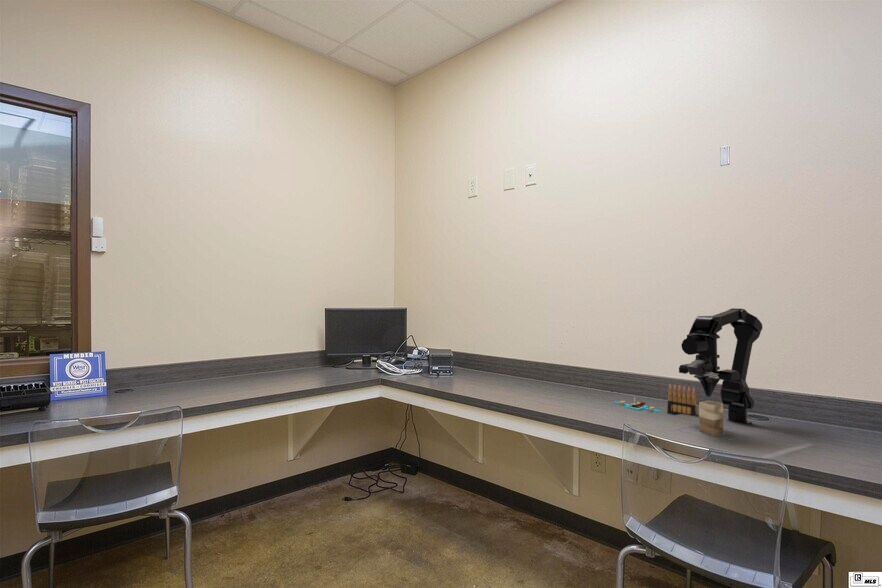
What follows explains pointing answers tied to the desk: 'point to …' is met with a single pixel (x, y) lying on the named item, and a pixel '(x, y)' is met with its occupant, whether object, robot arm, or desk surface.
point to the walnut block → (711, 426)
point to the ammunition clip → (681, 401)
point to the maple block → (711, 410)
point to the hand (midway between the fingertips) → (708, 396)
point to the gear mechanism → (637, 406)
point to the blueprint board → (712, 435)
